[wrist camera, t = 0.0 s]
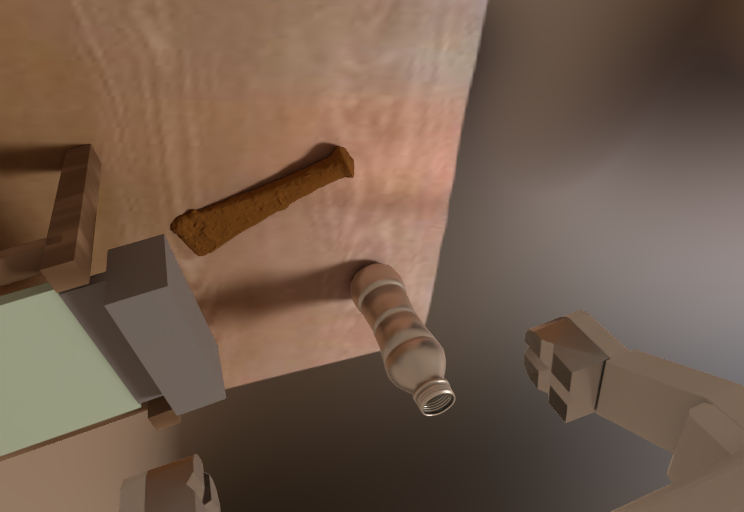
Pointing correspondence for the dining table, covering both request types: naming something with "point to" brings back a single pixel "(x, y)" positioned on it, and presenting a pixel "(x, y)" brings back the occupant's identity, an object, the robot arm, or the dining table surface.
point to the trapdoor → (104, 348)
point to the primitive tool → (257, 204)
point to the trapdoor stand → (71, 261)
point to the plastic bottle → (402, 338)
